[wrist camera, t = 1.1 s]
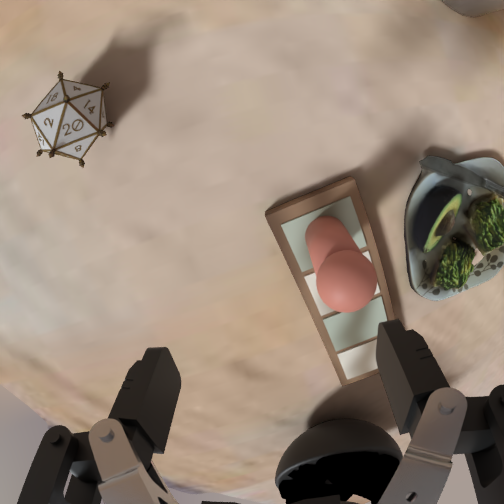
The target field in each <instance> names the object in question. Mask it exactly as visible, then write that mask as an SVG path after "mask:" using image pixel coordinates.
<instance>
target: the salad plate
mask: <svg viewBox="0 0 504 504" xmlns="http://www.w3.org/2000/svg"><path fill="white" fill-rule="evenodd" d="M419 162H420V165H421V167H422V173H421V175H420V177H419V179H418V181H417V182H416V184H415V186H414V188H413V190H412V191H411V193H410V195H409V198H408V201H407V204H406V209H405V217H404V239H405V248H406V262H407V273H408V277H409V282H410V286H411V288H412V289H413V290H414V291H415V292H416V293H418V294H419V295H420V296H422V297H424V298H426V299H429V300H432V301H438V300H443V299H446V298H449V297H451V296H454V295H456V294H458V293H461V292H463V291H465V290H468V289H470V288H472V287H475V286H478V285H479V284H482V283H484V282H486V281H488V280H490V279H491V278H493V277H494V276H495V275H496V274H497V273H498V272H499V271H500V269H501V268H502V266H503V265H504V167H503V165H502V164H501V163H500V162H499V161H497V160H496V159H494V158H489V157H482V158H474V159H471V160H468V161H463V162H460V163H455V164H453V163H452V162H451V161H450V160H447V159H444V158H440V157H435V156H427V157H426V158H425V159H423V160H421V161H419ZM468 189H471V191H472V194H471V195H470V196H469V195H468V193H467V191H468ZM453 237H455V238H456V239H455V240H454V239H453ZM476 248H478V249H479V251H480V252H481V253H482V255H483V256H484V257H483V259H482V260H481V261H480V262H479V263H478V264H476V265H475V266H474V265H473V264H472V260H473V258H474V256H475V252H474V250H475V249H476ZM425 260H426V261H425Z"/></svg>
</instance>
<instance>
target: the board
mask: <svg viewBox="0 0 504 504" xmlns="http://www.w3.org/2000/svg"><path fill="white" fill-rule="evenodd" d="M321 216H333V217H335V218H337V219H339V220H340V221H341V222H342V223H343V225H344V226H345V228H346V229H347V231H348V232H349V234H350V235H351V237H352V238H353V240H354V241H355V243H356V244H357V246H358V247H359V249H360V251H361V252H362V254H363V255H364V256H365V257H367V258H368V259H369V260H370V262H371V263H372V264H373V266H374V268H375V270H376V274H377V288H376V292H375V294H374V296H373V298H372V299H371V301H370V302H369V303H368V304H367V305H366V306H365V307H363V308H362V309H360V310H358V311H355V312H350V313H344V312H338V311H335V310H333V309H331V308H329V307H328V306H327V305H326V304H325V303H324V302H323V301H322V299H321V298H320V296H319V294H318V291H317V286H316V274H315V271H314V267H313V264H312V261H311V257H310V254H309V251H308V247H307V244H306V241H305V232H306V229H307V227H308V225H309V224H310V223H311V222H312V221H313V220H315V219H316V218H318V217H321ZM265 217H266V219H267V221H268V224H269V226H270V228H271V230H272V232H273V234H274V236H275V238H276V240H277V243H278V245H279V247H280V249H281V251H282V253H283V255H284V258H285V260H286V262H287V264H288V266H289V268H290V270H291V273H292V275H293V277H294V279H295V281H296V283H297V286H298V288H299V290H300V292H301V294H302V297H303V299H304V301H305V303H306V305H307V307H308V310H309V312H310V314H311V316H312V319H313V321H314V323H315V325H316V327H317V330H318V332H319V334H320V336H321V339H322V341H323V343H324V345H325V348H326V350H327V352H328V355H329V357H330V359H331V361H332V364H333V366H334V368H335V371H336V373H337V375H338V378H339V380H340V382H341V384H342V386H345V385H348V384H351V383H353V382H356V381H359V380H362V379H364V378H367V377H370V376H372V375H375V374H377V373H379V370H378V367H377V363H376V344H377V334H378V325H379V323H380V322H385V321H390V320H395V317H394V312H393V308H392V303H391V299H390V295H389V291H388V287H387V283H386V279H385V275H384V271H383V268H382V264H381V260H380V257H379V253H378V250H377V246H376V243H375V239H374V236H373V233H372V230H371V226H370V223H369V220H368V217H367V214H366V211H365V208H364V205H363V202H362V199H361V196H360V193H359V190H358V187H357V184H356V182H355V179H354V178H352V177H351V176H350V177H347V178H345V179H342V180H340V181H337V182H335V183H332V184H330V185H328V186H325V187H323V188H320V189H318V190H315V191H313V192H311V193H308V194H306V195H303V196H301V197H299V198H296V199H294V200H291V201H289V202H287V203H284V204H282V205H280V206H277V207H275V208H273V209H270V210H268V211H266V212H265Z"/></svg>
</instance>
